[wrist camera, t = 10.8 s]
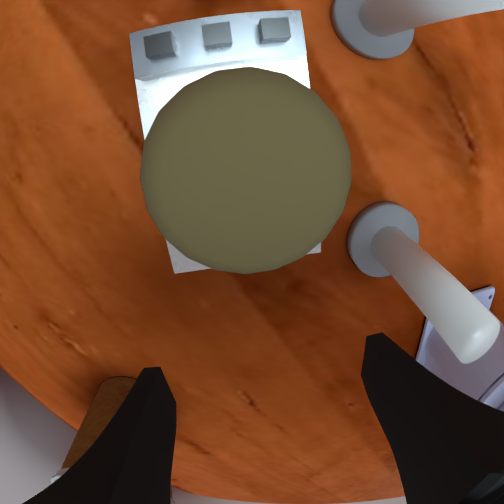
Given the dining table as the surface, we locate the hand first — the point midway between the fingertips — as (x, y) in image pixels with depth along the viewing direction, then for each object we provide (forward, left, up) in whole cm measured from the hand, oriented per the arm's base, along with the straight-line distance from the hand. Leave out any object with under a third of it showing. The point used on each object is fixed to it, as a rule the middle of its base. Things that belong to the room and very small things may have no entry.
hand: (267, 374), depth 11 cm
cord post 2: (-1, -9, -10) cm, 14 cm away
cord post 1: (+13, -9, -10) cm, 19 cm away
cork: (+7, 0, -10) cm, 12 cm away
